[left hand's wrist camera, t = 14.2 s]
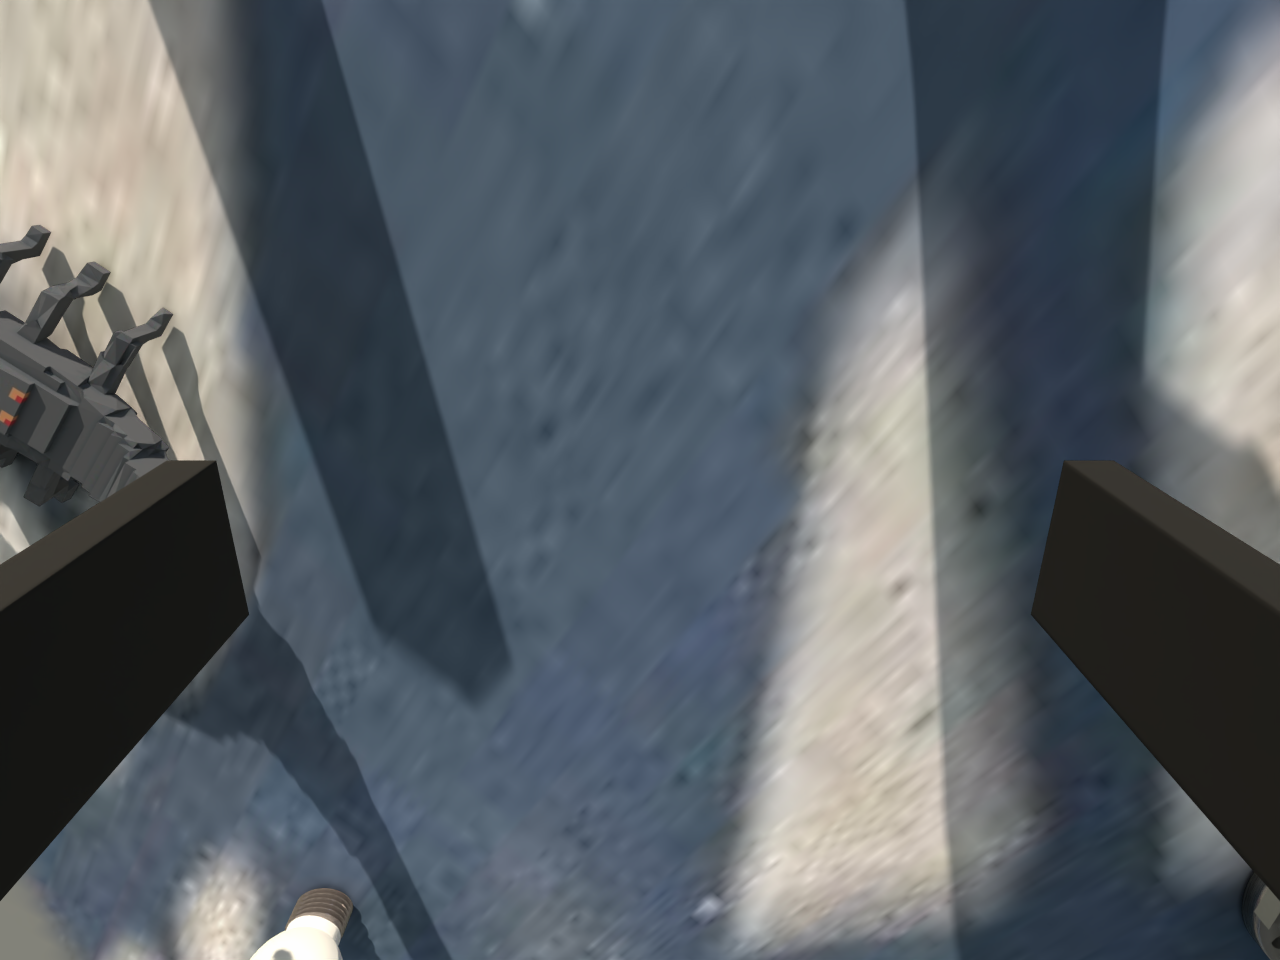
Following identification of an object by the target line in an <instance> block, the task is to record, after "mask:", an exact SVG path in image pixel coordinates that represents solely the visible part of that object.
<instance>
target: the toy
mask: <svg viewBox="0 0 1280 960" xmlns="http://www.w3.org/2000/svg"><path fill="white" fill-rule="evenodd" d="M50 234H51V232H50V231H48V230H47V229H45V228H44V227H42V226H41V225H35V226H31V228H30V229H29V231H28V233H27V234H26V236H25V237H24V238H23V239H22V240H21V241H16V242H10V243H3V244H0V283H1V282H2V280H3V278H4V276H5V275H6V273H7V271H8V270H9V268H10V266H11V264H13V263H15V262H18V261H20V260H22V259H26V258H31V257H36V256H40V255H41V252H42V250H43V248H44V246H45V244H46V242H47V240H48V238H49V236H50ZM110 273H111V272H109V271H108V270H106V269H105V268H103V267H102V266H101V265H99V264H98V263H96V262H89V263H87V264H86V265H85V267H84V268H83V269H82V271H81V272H80V273H79V275H78V276H77V278H75V279H73V280H71V281H70V282H68V283H64V284H59V285H55V286H52V287H50V288H48V289H46V290H44V291H42V292H41V294H40V295H39V297H38V299H37V301H36V303H35V305H34V307H33V309H32V311H31V313H30V315H29V317H28V318H27V320H26V322H25V323H24V322H23V321H21V320H20V319H18V318H16V317H15V316H13V315H12V314H10V313H9V312H7V311H0V467H1V468H3V467H5V466H7V465H10V464H12V463H13V461H14V459H15V457H16V455H17V453H18V452H19V453H20V454H22V455H24V456H25V457H27V458H29V459H31V460H32V461H34V462H36V463H38V466H37V468H36V470H35V472H34V474H33V477H32V479H31V481H30V483H29V485H28V488H27V490H26V492H25V495H24V498H26V499H28V500H29V501H31V502H33V503H34V504H36V505H38V506H41V505H42V504H44V503H45V502H47V501H48V500H50V499H51V498H53V497H54V498H56V499H57V500H59V501H60V502H61V503H63V502H65V501H67V500H69V499H71V497H72V495H73V494H74V492H75V490H76V488H77V486H78V485H79V483H77V482H75V481H74V480H77V481H79V482H80V483H81V484H82V488H84V489H85V490H87V491H88V492H89V493H90V494H89V496H90V497H92V498H94V499H95V500H97V501H99V502H101V501H103V500H104V499H106V498H108V497H109V496H111V495H112V494H114V493H116V492H117V491H119V490H120V489H122V488H124V487H125V486H127V485H128V484H130V483H132V482H133V481H135V480H136V479H138V478H140V477H141V476H143V475H144V474H146V473H148V472H149V471H151V470H152V469H154V468H156V467H157V466H159V465H160V464H162V463H164V462H165V461H170V460H169V459H168V458H167V456H166V451H167V450H168V448H169V446H168V445H167V444H166V443H165V442H164V441H163V440H162V438H160V437H159V436H158V435H157V434H156V433H154V432H153V431H152V430H151V429H150V428H149V427H148V426H146V425H145V424H144V423H143V422H142V421H141V420H140V419H139V418H138V417H137V416H136V415H137V412H136V411H135V410H134V409H133V408H132V407H130V406H129V405H128V404H127V403H126V402H125V401H123V400H122V399H121V398H120V397H119V396H118V395H116V394H115V393H116V391H117V389H118V386H119V384H120V382H121V380H122V378H123V376H124V374H125V372H126V369H127V368H128V367H129V365H130V364H131V362H132V361H133V359H134V357H135V356H136V354H137V353H138V351H139V350H140V348H141V346H142V345H143V344H144V343H146V342H147V341H149V340H152V339H154V338H157V337H160V336H161V335H162V333H163V332H164V330H165V328H166V326H167V324H168V323H169V321H170V319H171V317H172V315H173V314H172V313H171V312H169V311H168V310H166V309H165V308H162V309H161V310H159V311H158V312H157V313H156V314H155V315H154V316H153V317H152V318H150V320H149V321H148V322H147V323H146V324H144V325H141V326H138V327H135V328H132V329H129V330H127V331H124V332H123V331H122V330H120V331H117V332H114V333H113V335H112V337H111V339H110V342H109V344H108V346H107V348H106V350H105V351H103V352H100V354H99V357H98V359H97V361H96V363H95V366H94V368H93V367H92V366H90V365H89V364H87V363H86V362H84V361H83V360H81V359H80V358H78V357H77V356H75V355H74V354H73V353H71V352H70V351H68V350H66V349H60V348H59V347H57V346H56V345H55V344H54V343H53V342H51V341H50V340H49V339H48V338H47V337H48V336H50V335H51V334H52V333H53V331H54V329H55V328H56V326H57V324H58V323H59V321H60V319H61V318H62V316H63V314H64V313H65V311H66V309H67V308H68V306H69V305H70V303H71V302H72V300H73V299H76V298H80V297H85V296H90V295H94V294H96V293H97V292H99V291H101V290H102V288H103V286H104V284H105V282H106V280H107V278H108V276H109V275H110Z"/></svg>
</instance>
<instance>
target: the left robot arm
mask: <svg viewBox="0 0 1280 960" xmlns="http://www.w3.org/2000/svg"><path fill="white" fill-rule="evenodd" d="M248 615H249V612H248V607H247V603H246V598H245V593H244V589H243V584H242V579H241V575H240V570H239V565H238V561H237V556H236V551H235V547H234V542H233V537H232V533H231V528H230V523H229V519H228V514H227V509H226V505H225V500H224V495H223V491H222V486H221V481H220V477H219V472H218V467H217V463H216V461H165V462H164V463H162V464H160V465H159V466H157V467H156V468H154V469H152V470H151V471H149V472H148V473H146V474H144V475H143V476H141V477H140V478H138V479H136V480H135V481H133V482H132V483H130V484H128V485H127V486H125V487H124V488H122V489H120V490H119V491H117V492H116V493H114V494H112V495H111V496H109V497H108V498H106V499H104V500H103V501H101V502H100V503H98V504H96V505H95V506H93V507H92V508H90V509H88V510H87V511H85V512H84V513H82V514H80V515H79V516H77V517H76V518H74V519H73V520H71V521H69V522H68V523H66V524H65V525H63V526H61V527H60V528H58V529H57V530H55V531H53V532H52V533H50V534H49V535H47V536H45V537H44V538H42V539H41V540H39V541H37V542H36V543H34V544H33V545H31V546H29V547H28V548H26V549H25V550H23V551H21V552H20V553H18V554H17V555H15V556H13V557H12V558H10V559H9V560H7V561H5V562H4V563H2V564H1V565H0V901H1V900H2V899H3V897H4V896H5V895H6V894H7V893H8V892H9V890H10V889H11V888H12V887H13V886H14V885H15V884H16V882H17V881H18V880H19V879H20V878H21V877H22V875H23V874H24V873H25V872H26V871H27V870H28V869H29V867H30V866H31V865H32V864H33V863H34V862H35V861H36V859H37V858H38V857H39V856H40V855H41V854H42V852H43V851H44V850H45V849H46V848H47V847H48V846H49V844H50V843H51V842H52V841H53V840H54V839H55V837H56V836H57V835H58V834H59V833H60V832H61V831H62V829H63V828H64V827H65V826H66V825H67V824H68V822H69V821H70V820H71V819H72V818H73V817H74V816H75V814H76V813H77V812H78V811H79V810H80V809H81V808H82V806H83V805H84V804H85V803H86V802H87V801H88V799H89V798H90V797H91V796H92V795H93V794H94V793H95V791H96V790H97V789H98V788H99V787H100V786H101V784H102V783H103V782H104V781H105V780H106V779H107V778H108V776H109V775H110V774H111V773H112V772H113V771H114V770H115V768H116V767H117V766H118V765H119V764H120V763H121V761H122V760H123V759H124V758H125V757H126V756H127V755H128V753H129V752H130V751H131V750H132V749H133V748H134V746H135V745H136V744H137V743H138V742H139V741H140V740H141V738H142V737H143V736H144V735H145V734H146V733H147V731H148V730H149V729H150V728H151V727H152V726H153V725H154V723H155V722H156V721H157V720H158V719H159V718H160V717H161V715H162V714H163V713H164V712H165V711H166V710H167V708H168V707H169V706H170V705H171V704H172V703H173V702H174V700H175V699H176V698H177V697H178V696H179V695H180V693H181V692H182V691H183V690H184V689H185V688H186V687H187V685H188V684H189V683H190V682H191V681H192V680H193V679H194V677H195V676H196V675H197V674H198V673H199V672H200V670H201V669H202V668H203V667H204V666H205V665H206V664H207V662H208V661H209V660H210V659H211V658H212V657H213V655H214V654H215V653H216V652H217V651H218V650H219V649H220V647H221V646H222V645H223V644H224V643H225V642H226V640H227V639H228V638H229V637H230V636H231V635H232V634H233V632H234V631H235V630H236V629H237V628H238V627H239V626H240V624H241V623H242V622H243V621H244V620H245V619H246V617H247V616H248ZM1031 615H1032V616H1033V617H1034V619H1035V620H1036V621H1037V622H1038V623H1039V624H1040V626H1041V627H1042V628H1043V629H1044V630H1045V631H1046V632H1047V634H1048V635H1049V636H1050V637H1051V638H1052V639H1053V640H1054V642H1055V643H1056V644H1057V645H1058V646H1059V647H1060V649H1061V650H1062V651H1063V652H1064V653H1065V654H1066V655H1067V657H1068V658H1069V659H1070V660H1071V661H1072V662H1073V664H1074V665H1075V666H1076V667H1077V668H1078V669H1079V670H1080V672H1081V673H1082V674H1083V675H1084V676H1085V677H1086V679H1087V680H1088V681H1089V682H1090V683H1091V684H1092V685H1093V687H1094V688H1095V689H1096V690H1097V691H1098V692H1099V693H1100V695H1101V696H1102V697H1103V698H1104V699H1105V700H1106V702H1107V703H1108V704H1109V705H1110V706H1111V707H1112V708H1113V710H1114V711H1115V712H1116V713H1117V714H1118V715H1119V717H1120V718H1121V719H1122V720H1123V721H1124V722H1125V723H1126V725H1127V726H1128V727H1129V728H1130V729H1131V730H1132V731H1133V733H1134V734H1135V735H1136V736H1137V737H1138V738H1139V740H1140V741H1141V742H1142V743H1143V744H1144V745H1145V746H1146V748H1147V749H1148V750H1149V751H1150V752H1151V753H1152V755H1153V756H1154V757H1155V758H1156V759H1157V760H1158V761H1159V763H1160V764H1161V765H1162V766H1163V767H1164V768H1165V770H1166V771H1167V772H1168V773H1169V774H1170V775H1171V776H1172V778H1173V779H1174V780H1175V781H1176V782H1177V783H1178V784H1179V786H1180V787H1181V788H1182V789H1183V790H1184V791H1185V793H1186V794H1187V795H1188V796H1189V797H1190V798H1191V799H1192V801H1193V802H1194V803H1195V804H1196V805H1197V806H1198V808H1199V809H1200V810H1201V811H1202V812H1203V813H1204V814H1205V816H1206V817H1207V818H1208V819H1209V820H1210V821H1211V822H1212V824H1213V825H1214V826H1215V827H1216V828H1217V829H1218V831H1219V832H1220V833H1221V834H1222V835H1223V836H1224V837H1225V839H1226V840H1227V841H1228V842H1229V843H1230V844H1231V846H1232V847H1233V848H1234V849H1235V850H1236V851H1237V852H1238V854H1239V855H1240V856H1241V857H1242V858H1243V859H1244V861H1245V862H1246V863H1247V864H1248V865H1249V866H1250V867H1251V869H1252V870H1253V871H1254V872H1255V873H1256V874H1257V875H1258V877H1259V878H1260V879H1261V880H1262V881H1263V882H1264V884H1265V885H1266V886H1267V887H1268V888H1269V889H1270V890H1271V892H1272V893H1273V894H1274V895H1275V896H1276V897H1277V899H1278V900H1279V901H1280V565H1279V564H1278V563H1276V562H1275V561H1273V560H1271V559H1270V558H1268V557H1267V556H1265V555H1263V554H1262V553H1260V552H1259V551H1257V550H1255V549H1254V548H1252V547H1251V546H1249V545H1247V544H1246V543H1244V542H1243V541H1241V540H1239V539H1238V538H1236V537H1235V536H1233V535H1231V534H1230V533H1228V532H1227V531H1225V530H1223V529H1222V528H1220V527H1219V526H1217V525H1215V524H1214V523H1212V522H1211V521H1209V520H1207V519H1206V518H1204V517H1203V516H1201V515H1200V514H1198V513H1196V512H1195V511H1193V510H1192V509H1190V508H1188V507H1187V506H1185V505H1184V504H1182V503H1180V502H1179V501H1177V500H1176V499H1174V498H1172V497H1171V496H1169V495H1168V494H1166V493H1164V492H1163V491H1161V490H1160V489H1158V488H1156V487H1155V486H1153V485H1152V484H1150V483H1148V482H1147V481H1145V480H1144V479H1142V478H1140V477H1139V476H1137V475H1136V474H1134V473H1132V472H1131V471H1129V470H1128V469H1126V468H1124V467H1123V466H1121V465H1120V464H1118V463H1116V462H1115V461H1064V463H1063V467H1062V472H1061V477H1060V481H1059V486H1058V491H1057V495H1056V500H1055V505H1054V509H1053V514H1052V519H1051V523H1050V528H1049V533H1048V537H1047V542H1046V547H1045V551H1044V556H1043V561H1042V565H1041V570H1040V575H1039V579H1038V584H1037V589H1036V593H1035V598H1034V603H1033V607H1032V612H1031Z"/></svg>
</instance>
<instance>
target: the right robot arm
mask: <svg viewBox="0 0 1280 960" xmlns="http://www.w3.org/2000/svg"><path fill="white" fill-rule="evenodd" d="M1242 916H1243V920H1244V923H1245V926H1246V928H1247V930H1248V932H1249V933H1250V935H1251V936H1252V937H1253V939H1254V940H1255V941H1256V942H1257V944H1258V945H1259V946H1260V947H1261V949H1262V950H1263V951H1264V952H1265V954H1266V955H1267V956H1268V957H1269V959H1270V960H1280V901H1279V900H1278V899H1277V897H1276V896H1275V895H1274V894H1273V893H1272V892H1271V890H1270V889H1269V888H1268V887H1267V886H1266V885H1265V884H1264V882H1263V881H1262V880H1261V879H1260V878H1259V877H1258V875H1257V874H1256V873H1255V872H1254V873H1253V875H1252V876H1251V878H1250V880H1249V882H1248V884H1247V886H1246V889H1245V892H1244V896H1243V901H1242Z"/></svg>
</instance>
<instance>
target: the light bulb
mask: <svg viewBox="0 0 1280 960" xmlns="http://www.w3.org/2000/svg"><path fill="white" fill-rule="evenodd" d="M352 910H353V904H352V901H351V900H350V899H349V897H348V896H347V895H345V894H344V893H342V892H340V891H337V890H334V889H327V888H321V889H314V890H311V891H309V892H306V893H305V894H303V895H302V896H301V897H300V898H299V900H298V901H297V903H296V905H295V908H294V910H293V912H292V914H291V916H290V919H289V920H288V923H287V925H286V927H285V931H284V932H281V933H280V934H278V935H276V936H275V937H273V938H272V939H270V940H269V941H267V942H266V943H265V944H264V945H263V946H262V947H261V948H260V949H258V951H257V952H256V953H255V954H254V955H253V956H252V958H251V959H250V960H343V959H342V956H341V952H340V950H339V947H338V945H339V943H340V940H341V938H342V937H343V933H344V931H345V928H346V926H347V923H348V921H349V918H350V916H351V913H352Z"/></svg>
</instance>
